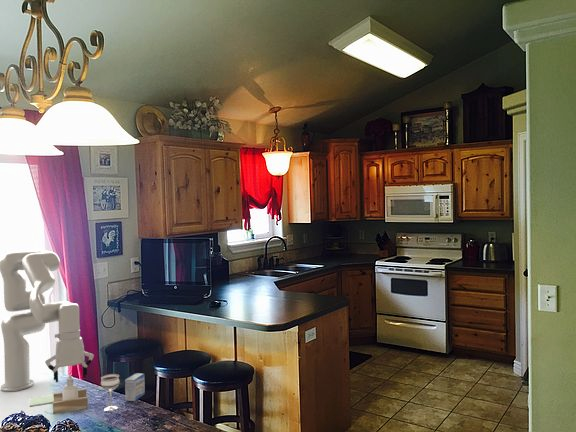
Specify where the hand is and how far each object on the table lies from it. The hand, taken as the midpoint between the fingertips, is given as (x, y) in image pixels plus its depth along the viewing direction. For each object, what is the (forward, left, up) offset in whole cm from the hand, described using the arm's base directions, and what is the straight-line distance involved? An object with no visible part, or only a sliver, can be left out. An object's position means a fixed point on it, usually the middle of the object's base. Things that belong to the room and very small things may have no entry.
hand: (70, 379), depth 185 cm
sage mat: (-11, -10, -10) cm, 19 cm away
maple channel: (0, 0, -10) cm, 10 cm away
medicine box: (+3, +24, -11) cm, 26 cm away
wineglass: (+10, +14, -11) cm, 20 cm away
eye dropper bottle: (0, 0, -11) cm, 11 cm away
